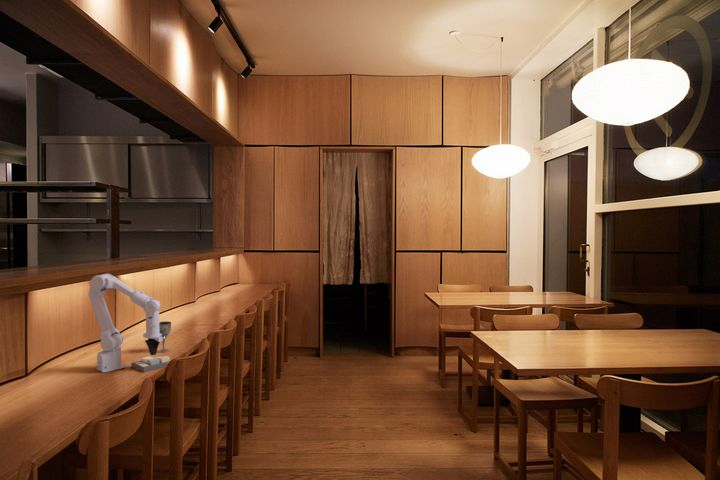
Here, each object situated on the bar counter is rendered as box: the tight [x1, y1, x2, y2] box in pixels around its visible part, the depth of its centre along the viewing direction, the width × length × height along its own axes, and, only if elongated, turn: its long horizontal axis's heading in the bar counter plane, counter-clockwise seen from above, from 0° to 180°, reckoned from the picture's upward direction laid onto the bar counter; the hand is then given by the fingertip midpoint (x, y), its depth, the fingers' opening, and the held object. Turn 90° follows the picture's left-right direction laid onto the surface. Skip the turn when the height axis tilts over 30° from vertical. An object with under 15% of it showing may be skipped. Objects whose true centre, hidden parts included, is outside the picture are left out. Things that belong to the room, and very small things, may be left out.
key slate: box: [147, 357, 159, 365], centre depth 211 cm, size 4×4×2 cm
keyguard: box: [130, 355, 173, 373], centre depth 214 cm, size 15×12×2 cm
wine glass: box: [156, 320, 172, 354], centre depth 239 cm, size 8×8×15 cm
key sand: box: [157, 355, 171, 363], centre depth 215 cm, size 4×4×2 cm
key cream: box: [140, 355, 154, 363], centre depth 214 cm, size 4×4×2 cm
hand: (153, 354), depth 211 cm, fingers closed
